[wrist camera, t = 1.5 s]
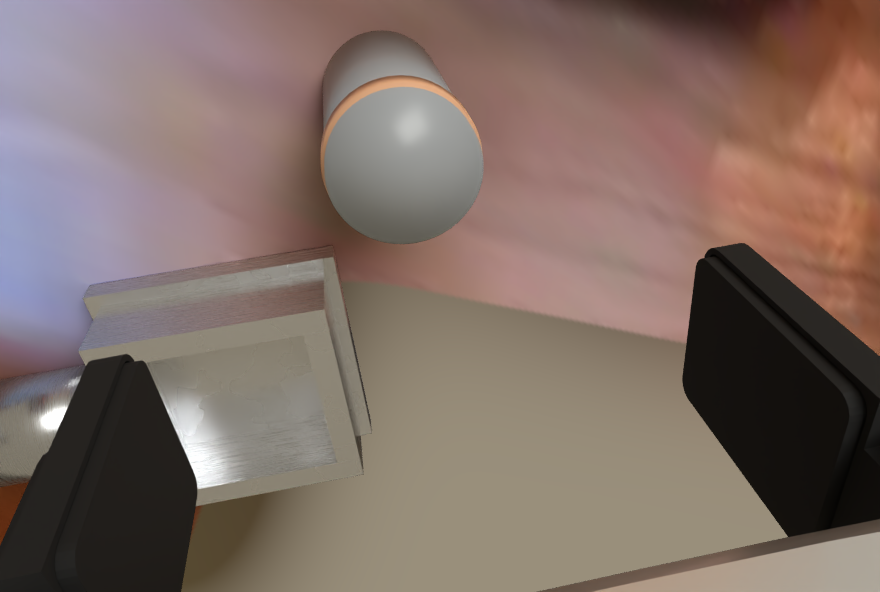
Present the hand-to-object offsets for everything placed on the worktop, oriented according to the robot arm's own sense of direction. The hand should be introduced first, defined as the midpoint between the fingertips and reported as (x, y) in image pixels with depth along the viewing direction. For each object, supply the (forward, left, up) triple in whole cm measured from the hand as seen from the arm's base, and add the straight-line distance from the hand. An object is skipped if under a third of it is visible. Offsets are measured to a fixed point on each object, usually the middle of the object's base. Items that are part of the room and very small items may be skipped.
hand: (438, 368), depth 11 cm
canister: (0, 0, -17) cm, 17 cm away
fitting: (+11, +11, -16) cm, 22 cm away
